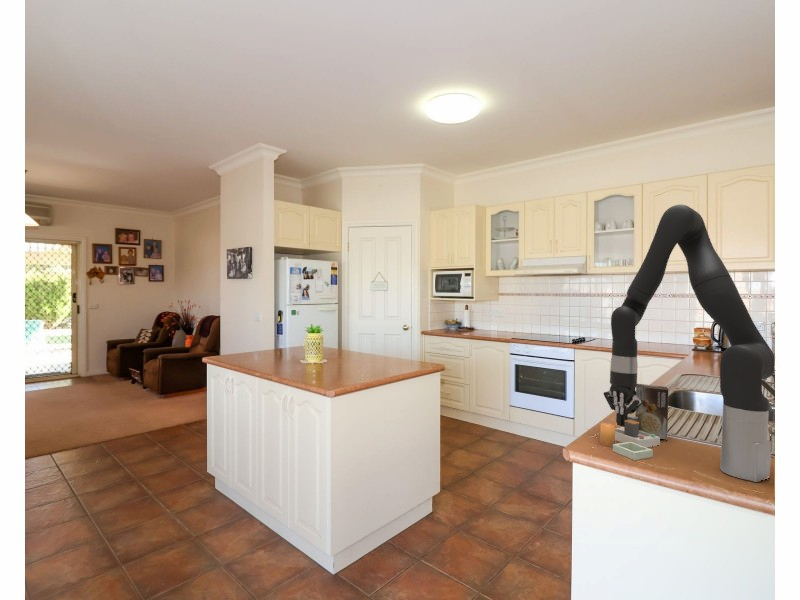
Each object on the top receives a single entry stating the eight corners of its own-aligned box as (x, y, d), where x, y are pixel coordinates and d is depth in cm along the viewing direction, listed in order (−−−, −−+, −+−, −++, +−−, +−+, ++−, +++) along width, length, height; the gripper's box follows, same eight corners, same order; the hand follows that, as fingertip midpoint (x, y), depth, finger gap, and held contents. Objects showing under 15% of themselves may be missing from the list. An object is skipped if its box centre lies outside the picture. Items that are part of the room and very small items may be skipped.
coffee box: (666, 435, 144) (668, 386, 144) (667, 441, 139) (669, 390, 138) (634, 430, 149) (636, 383, 148) (634, 436, 143) (636, 386, 143)
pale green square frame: (652, 457, 124) (653, 449, 124) (634, 460, 121) (635, 452, 121) (630, 448, 131) (630, 441, 131) (612, 451, 128) (612, 444, 128)
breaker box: (659, 445, 134) (660, 434, 134) (639, 448, 131) (639, 437, 131) (627, 434, 144) (628, 424, 144) (607, 437, 141) (608, 426, 141)
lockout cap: (617, 445, 133) (618, 425, 133) (608, 447, 131) (608, 427, 131) (606, 441, 136) (607, 422, 136) (597, 443, 135) (597, 423, 135)
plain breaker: (637, 429, 140) (638, 417, 140) (632, 430, 139) (632, 417, 139) (629, 426, 143) (629, 414, 143) (623, 427, 142) (624, 415, 142)
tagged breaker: (638, 435, 134) (639, 422, 134) (633, 435, 133) (633, 422, 133) (629, 432, 137) (630, 419, 137) (624, 432, 136) (624, 420, 136)
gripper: (651, 373, 134) (649, 430, 134) (614, 366, 146) (612, 418, 146) (634, 374, 131) (631, 433, 131) (597, 367, 143) (595, 420, 143)
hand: (621, 425), depth 139 cm, fingers closed
